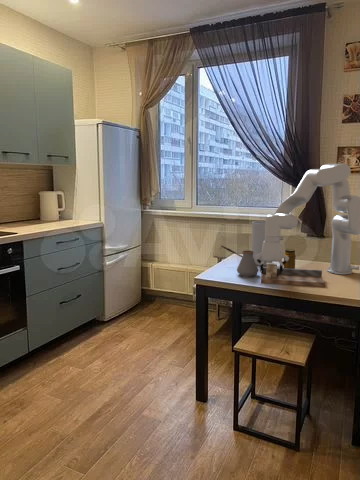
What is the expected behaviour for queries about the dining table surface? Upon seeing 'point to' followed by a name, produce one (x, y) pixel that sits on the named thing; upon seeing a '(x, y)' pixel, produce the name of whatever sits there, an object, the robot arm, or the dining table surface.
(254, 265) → the coffee pot
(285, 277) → the board
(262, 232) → the cylinder vase
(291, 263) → the condiment
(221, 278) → the dining table surface
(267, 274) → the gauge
